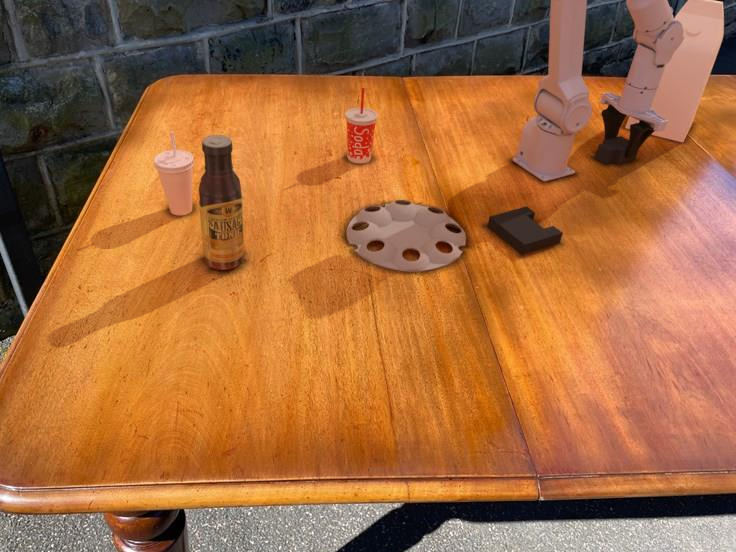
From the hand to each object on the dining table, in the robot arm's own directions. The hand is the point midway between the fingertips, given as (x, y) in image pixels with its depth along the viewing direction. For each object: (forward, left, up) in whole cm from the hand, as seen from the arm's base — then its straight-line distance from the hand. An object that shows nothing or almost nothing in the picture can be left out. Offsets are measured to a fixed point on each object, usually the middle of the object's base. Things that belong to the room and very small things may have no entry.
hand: (619, 150), depth 127 cm
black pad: (+14, -36, -1) cm, 39 cm away
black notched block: (0, -1, -1) cm, 2 cm away
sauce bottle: (0, -83, -2) cm, 83 cm away
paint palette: (+6, -54, -2) cm, 54 cm away
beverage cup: (-21, -48, -2) cm, 52 cm away
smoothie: (-17, -85, -2) cm, 87 cm away
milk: (-7, +20, -2) cm, 21 cm away
